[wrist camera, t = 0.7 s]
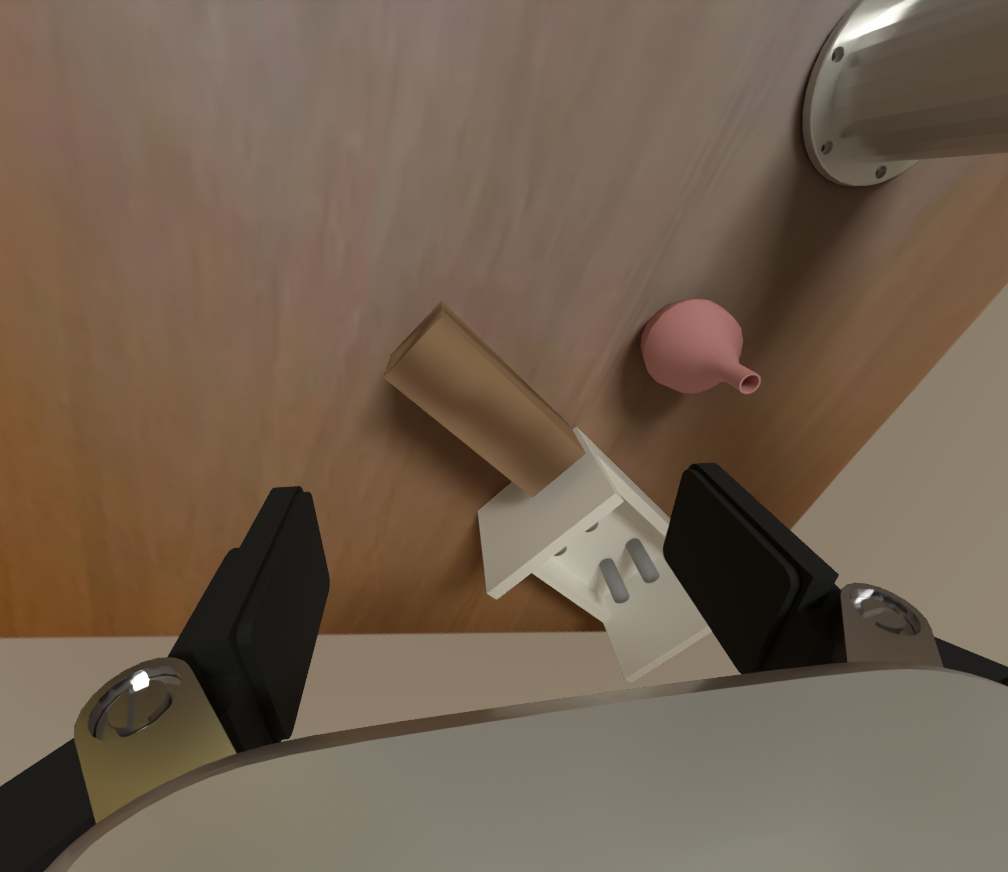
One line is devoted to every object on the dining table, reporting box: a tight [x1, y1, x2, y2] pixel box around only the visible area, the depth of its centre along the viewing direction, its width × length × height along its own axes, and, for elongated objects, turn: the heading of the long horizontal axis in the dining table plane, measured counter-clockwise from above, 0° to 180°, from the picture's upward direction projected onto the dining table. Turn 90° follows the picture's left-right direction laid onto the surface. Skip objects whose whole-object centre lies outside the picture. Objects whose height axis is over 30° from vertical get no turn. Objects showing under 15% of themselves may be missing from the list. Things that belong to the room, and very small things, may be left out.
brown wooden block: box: [384, 301, 586, 498], centre depth 35 cm, size 6×16×5 cm, turn 44°
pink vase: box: [641, 299, 761, 394], centre depth 34 cm, size 8×8×12 cm
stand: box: [478, 427, 712, 683], centre depth 45 cm, size 14×22×11 cm, turn 44°
